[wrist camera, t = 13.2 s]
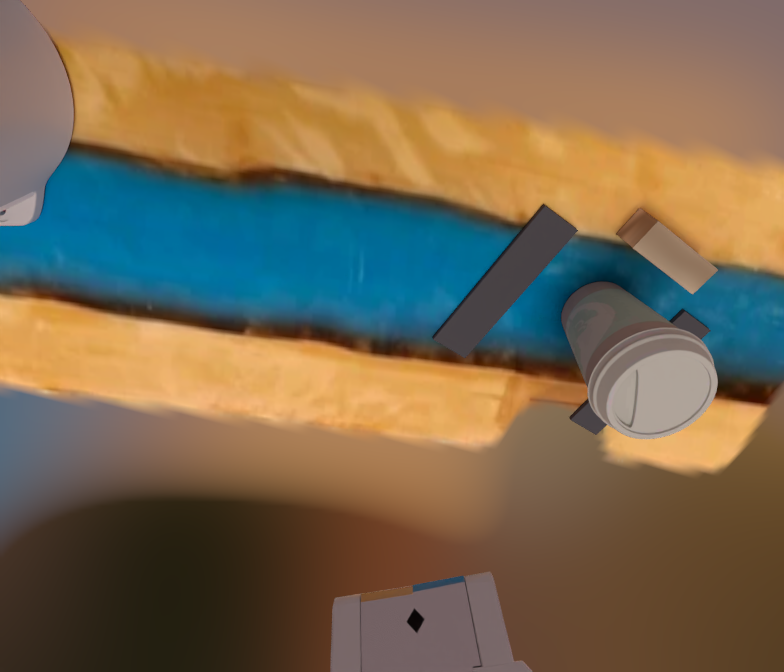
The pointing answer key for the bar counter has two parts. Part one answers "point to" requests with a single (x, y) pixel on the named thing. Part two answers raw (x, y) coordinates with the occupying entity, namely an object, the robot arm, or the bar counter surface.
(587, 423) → the gutter strips
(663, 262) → the maple block
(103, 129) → the bar counter surface
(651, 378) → the coffee cup
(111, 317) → the bar counter surface
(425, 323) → the bar counter surface
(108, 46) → the bar counter surface
